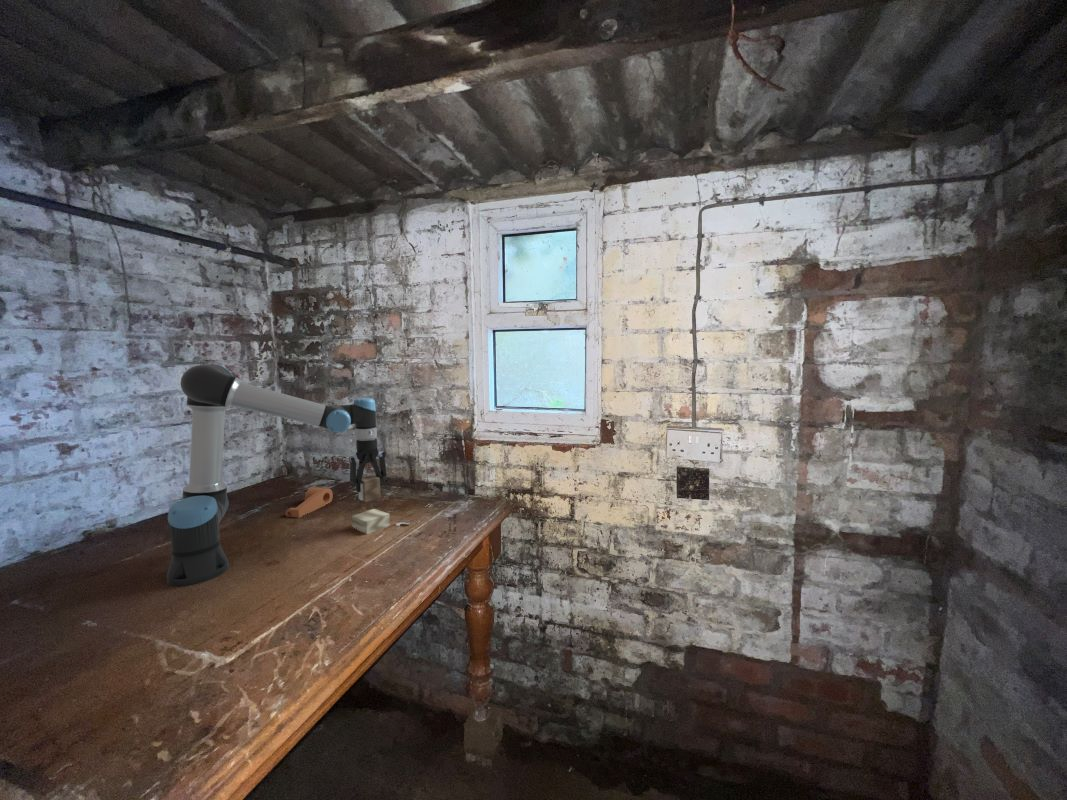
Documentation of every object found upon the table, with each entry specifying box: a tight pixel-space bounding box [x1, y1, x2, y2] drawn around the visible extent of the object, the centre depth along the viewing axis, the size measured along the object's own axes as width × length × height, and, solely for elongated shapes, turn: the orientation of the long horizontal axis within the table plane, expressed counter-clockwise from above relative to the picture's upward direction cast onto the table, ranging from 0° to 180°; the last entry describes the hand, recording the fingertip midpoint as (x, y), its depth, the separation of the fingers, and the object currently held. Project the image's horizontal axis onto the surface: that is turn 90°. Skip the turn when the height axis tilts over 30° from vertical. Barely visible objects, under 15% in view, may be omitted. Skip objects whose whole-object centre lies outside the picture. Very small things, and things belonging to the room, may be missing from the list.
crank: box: [284, 486, 334, 519], centre depth 186 cm, size 20×8×8 cm, turn 166°
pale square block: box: [350, 508, 391, 535], centre depth 167 cm, size 10×10×5 cm
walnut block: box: [361, 475, 382, 503], centre depth 166 cm, size 6×6×8 cm
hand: (369, 497), depth 166 cm, fingers closed on walnut block, 6 cm apart
